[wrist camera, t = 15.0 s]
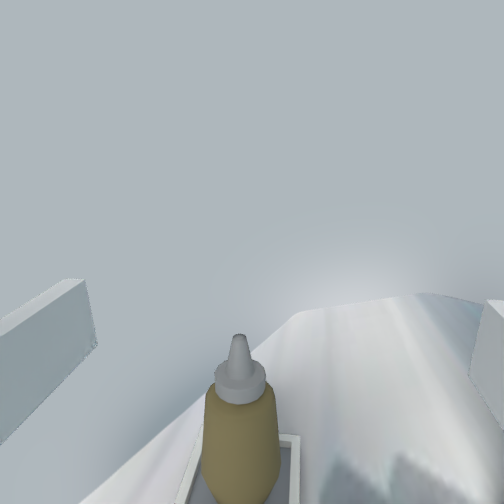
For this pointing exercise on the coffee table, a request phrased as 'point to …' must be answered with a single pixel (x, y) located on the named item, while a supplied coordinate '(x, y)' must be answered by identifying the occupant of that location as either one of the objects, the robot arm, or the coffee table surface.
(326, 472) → the coffee table surface
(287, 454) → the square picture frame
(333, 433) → the coffee table surface
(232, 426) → the squeeze bottle
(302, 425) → the coffee table surface
